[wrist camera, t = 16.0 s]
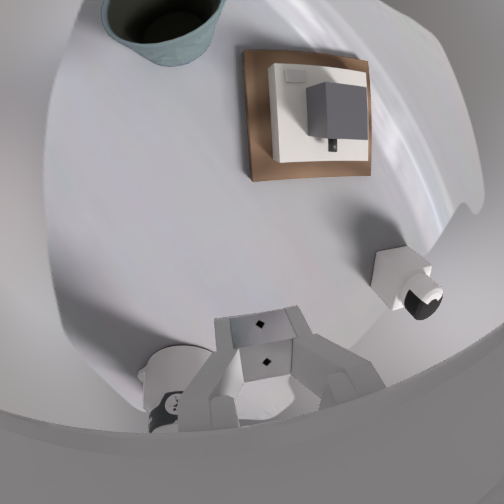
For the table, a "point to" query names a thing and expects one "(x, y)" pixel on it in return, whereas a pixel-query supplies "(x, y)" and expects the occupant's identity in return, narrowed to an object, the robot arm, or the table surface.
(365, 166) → the mounting board
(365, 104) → the plug
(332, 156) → the socket
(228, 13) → the table surface
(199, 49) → the teal cup
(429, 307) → the medicine bottle
